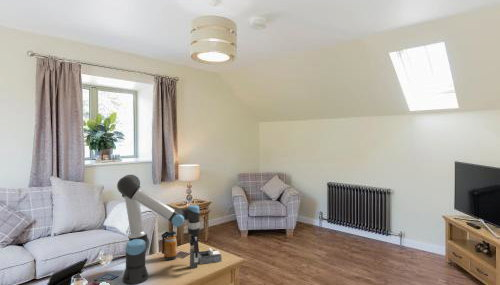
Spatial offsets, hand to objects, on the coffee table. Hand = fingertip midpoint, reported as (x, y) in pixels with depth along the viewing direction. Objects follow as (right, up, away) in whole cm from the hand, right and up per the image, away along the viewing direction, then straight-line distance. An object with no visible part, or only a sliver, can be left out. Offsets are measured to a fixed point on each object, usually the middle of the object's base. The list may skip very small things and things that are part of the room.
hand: (194, 258), depth 214 cm
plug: (0, -6, 0) cm, 6 cm away
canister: (-22, -6, +15) cm, 27 cm away
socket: (+7, -6, +13) cm, 16 cm away
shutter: (+12, -2, +15) cm, 19 cm away
